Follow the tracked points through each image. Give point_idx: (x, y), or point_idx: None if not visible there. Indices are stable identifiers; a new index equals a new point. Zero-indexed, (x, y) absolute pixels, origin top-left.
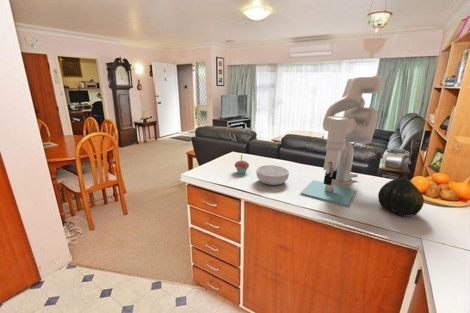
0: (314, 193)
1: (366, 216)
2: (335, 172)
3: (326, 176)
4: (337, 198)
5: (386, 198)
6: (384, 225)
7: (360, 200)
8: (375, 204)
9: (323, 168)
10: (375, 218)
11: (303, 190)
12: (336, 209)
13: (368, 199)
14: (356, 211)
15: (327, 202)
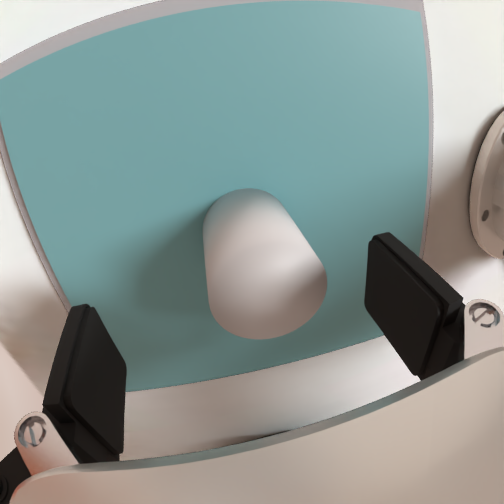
0: (72, 164)
1: (129, 429)
2: (414, 366)
3: (44, 423)
4: (153, 333)
5: None
6: (126, 457)
7: (285, 378)
8: (285, 416)
9: (13, 499)
10: (146, 443)
11: (94, 25)
12: (54, 350)
13: (326, 387)
14: (132, 405)
15: (60, 297)
